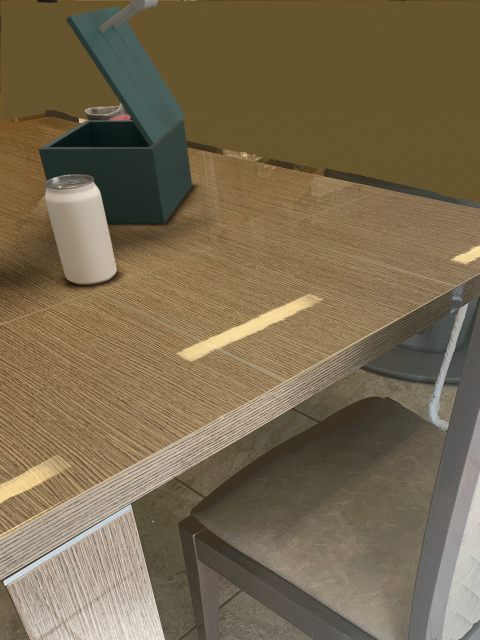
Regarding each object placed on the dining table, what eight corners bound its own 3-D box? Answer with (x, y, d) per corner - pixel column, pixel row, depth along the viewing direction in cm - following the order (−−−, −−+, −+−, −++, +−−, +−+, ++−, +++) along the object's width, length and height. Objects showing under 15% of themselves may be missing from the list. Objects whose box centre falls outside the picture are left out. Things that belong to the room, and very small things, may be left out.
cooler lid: (65, 19, 84) (116, -21, 81) (113, 8, 100) (158, -25, 97) (149, 146, 93) (198, 114, 90) (181, 118, 109) (224, 90, 106)
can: (58, 275, 84) (32, 180, 77) (104, 262, 87) (84, 170, 80) (78, 290, 80) (53, 192, 73) (126, 276, 83) (106, 181, 76)
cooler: (57, 223, 100) (38, 148, 94) (100, 186, 116) (85, 120, 110) (164, 223, 99) (152, 148, 93) (192, 186, 115) (183, 119, 109)
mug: (94, 139, 146) (84, 90, 140) (150, 136, 148) (142, 88, 142) (88, 149, 139) (77, 98, 133) (147, 146, 140) (139, 95, 134)
